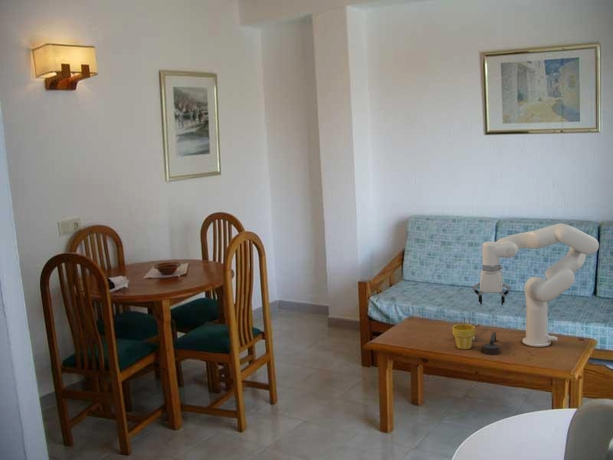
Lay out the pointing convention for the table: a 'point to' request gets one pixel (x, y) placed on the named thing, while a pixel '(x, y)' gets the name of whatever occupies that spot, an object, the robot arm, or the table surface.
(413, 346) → the table surface
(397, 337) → the table surface
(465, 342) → the flower pot
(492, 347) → the ladle
